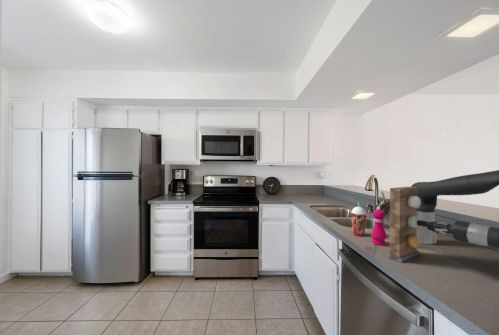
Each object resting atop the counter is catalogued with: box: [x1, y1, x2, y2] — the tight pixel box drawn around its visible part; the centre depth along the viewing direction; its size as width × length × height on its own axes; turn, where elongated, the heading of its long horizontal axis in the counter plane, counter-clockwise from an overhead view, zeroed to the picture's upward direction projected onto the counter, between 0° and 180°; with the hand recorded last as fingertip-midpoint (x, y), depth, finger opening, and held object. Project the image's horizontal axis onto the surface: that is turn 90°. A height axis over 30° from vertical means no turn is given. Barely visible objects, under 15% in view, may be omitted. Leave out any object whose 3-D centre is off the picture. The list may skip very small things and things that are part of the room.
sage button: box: [407, 216, 420, 228], centre depth 97 cm, size 3×5×5 cm, turn 120°
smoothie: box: [350, 202, 367, 237], centre depth 131 cm, size 8×8×20 cm
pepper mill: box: [370, 206, 387, 247], centre depth 116 cm, size 7×7×20 cm
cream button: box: [407, 196, 421, 208], centre depth 96 cm, size 3×5×5 cm, turn 120°
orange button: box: [407, 235, 421, 249], centre depth 97 cm, size 3×5×5 cm, turn 120°
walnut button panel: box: [388, 186, 421, 263], centre depth 100 cm, size 5×17×32 cm, turn 120°
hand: (417, 222), depth 95 cm, fingers closed
